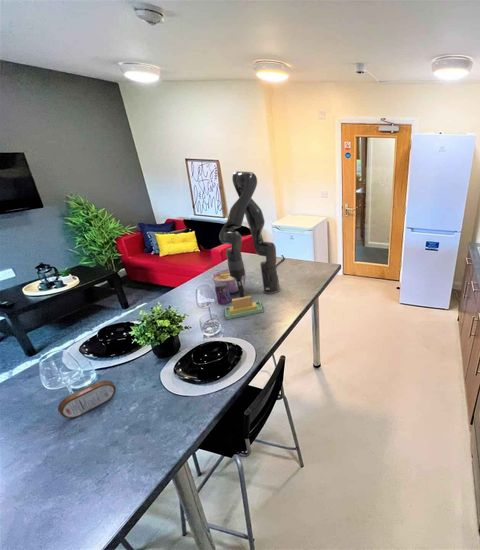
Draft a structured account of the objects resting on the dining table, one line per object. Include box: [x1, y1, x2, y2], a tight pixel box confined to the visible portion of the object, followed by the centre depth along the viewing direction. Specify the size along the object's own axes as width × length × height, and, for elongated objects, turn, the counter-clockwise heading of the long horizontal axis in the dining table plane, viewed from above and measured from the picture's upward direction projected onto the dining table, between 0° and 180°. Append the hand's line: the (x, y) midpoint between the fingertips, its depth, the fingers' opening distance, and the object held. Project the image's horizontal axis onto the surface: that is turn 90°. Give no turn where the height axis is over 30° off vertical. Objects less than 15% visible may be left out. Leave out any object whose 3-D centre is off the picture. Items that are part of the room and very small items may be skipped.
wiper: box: [228, 295, 257, 315], centre depth 162 cm, size 5×14×8 cm, turn 116°
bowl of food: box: [211, 268, 247, 294], centre depth 185 cm, size 20×20×12 cm
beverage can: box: [214, 282, 232, 305], centre depth 171 cm, size 7×7×12 cm
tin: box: [57, 379, 117, 419], centre depth 102 cm, size 15×3×8 cm, turn 145°
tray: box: [224, 300, 264, 320], centre depth 164 cm, size 10×19×2 cm, turn 116°
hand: (241, 293), depth 160 cm, fingers open, 8 cm apart
